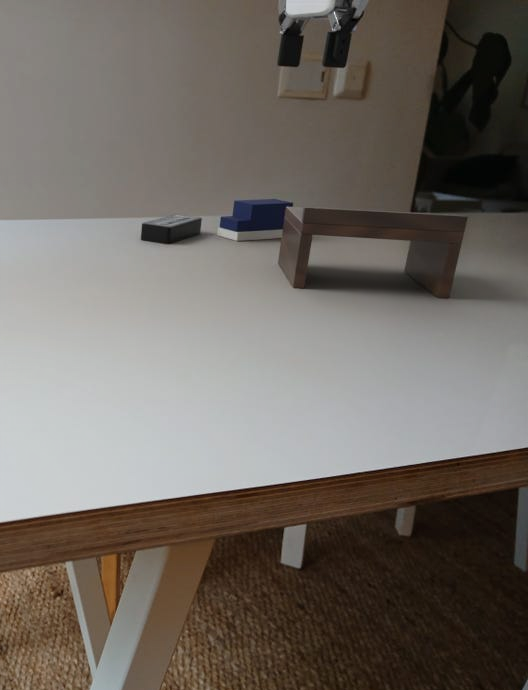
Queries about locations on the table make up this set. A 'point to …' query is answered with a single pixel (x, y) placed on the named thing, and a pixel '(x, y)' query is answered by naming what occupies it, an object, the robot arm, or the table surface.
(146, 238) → the multiport hub
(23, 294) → the table surface
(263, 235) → the trainer
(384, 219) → the shelf
